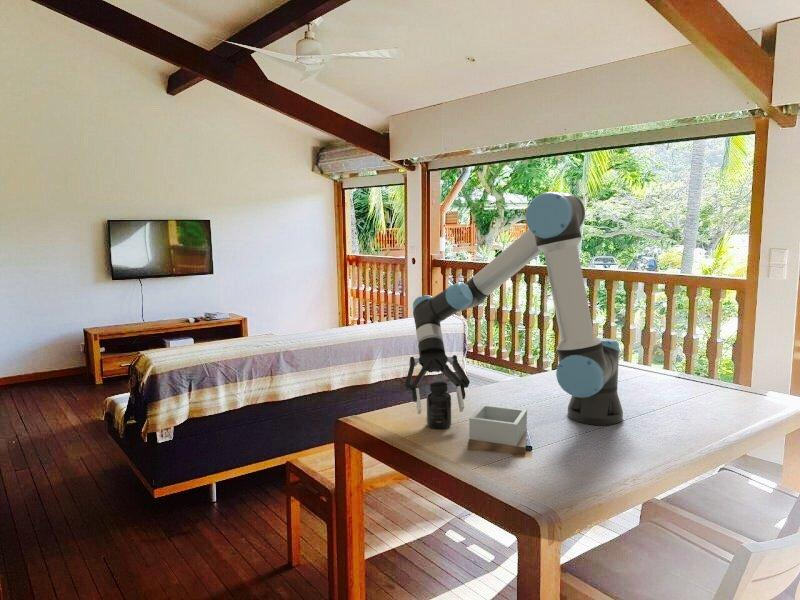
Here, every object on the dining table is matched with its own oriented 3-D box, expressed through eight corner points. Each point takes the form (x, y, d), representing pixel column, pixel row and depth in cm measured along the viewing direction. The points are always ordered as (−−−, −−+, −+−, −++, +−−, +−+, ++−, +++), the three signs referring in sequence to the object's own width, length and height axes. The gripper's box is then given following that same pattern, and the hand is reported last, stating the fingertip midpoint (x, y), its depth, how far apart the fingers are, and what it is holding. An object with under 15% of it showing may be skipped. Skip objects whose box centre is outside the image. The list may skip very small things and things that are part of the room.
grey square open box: (526, 430, 157) (527, 409, 156) (516, 446, 146) (516, 424, 145) (482, 424, 162) (482, 404, 161) (469, 439, 151) (469, 418, 150)
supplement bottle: (427, 420, 170) (427, 380, 168) (451, 421, 169) (451, 380, 167) (425, 429, 163) (425, 387, 161) (450, 430, 162) (450, 387, 160)
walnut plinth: (526, 436, 159) (527, 427, 159) (525, 457, 146) (525, 447, 145) (474, 432, 162) (474, 423, 162) (468, 452, 149) (468, 442, 149)
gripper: (467, 348, 180) (480, 414, 167) (389, 351, 177) (397, 419, 164) (471, 334, 174) (485, 402, 161) (391, 337, 171) (399, 406, 158)
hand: (440, 410), depth 163 cm, fingers open, 11 cm apart
